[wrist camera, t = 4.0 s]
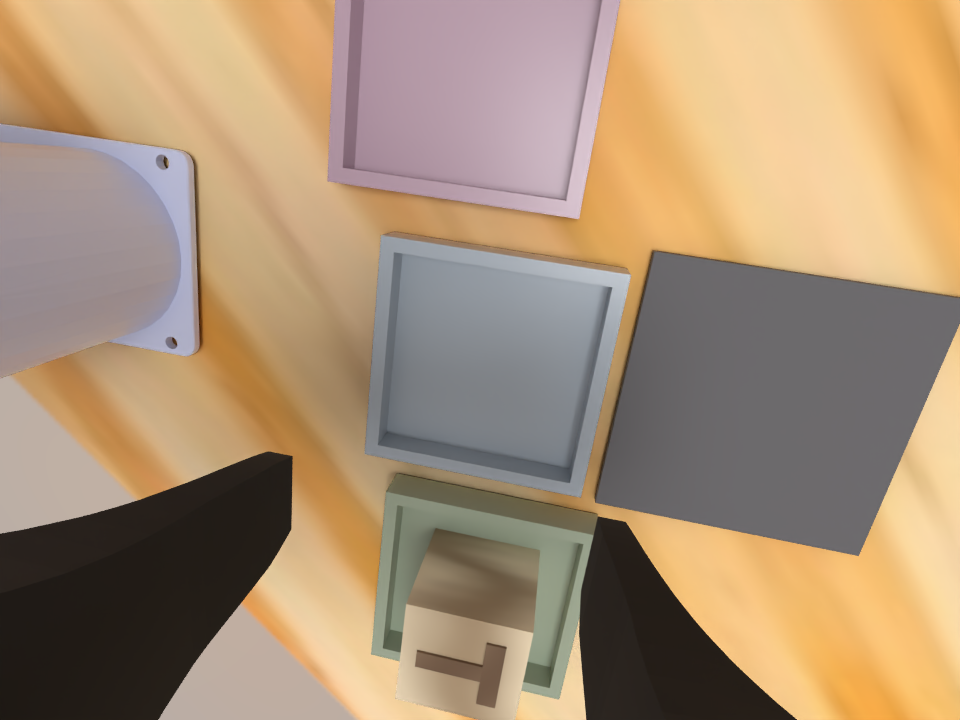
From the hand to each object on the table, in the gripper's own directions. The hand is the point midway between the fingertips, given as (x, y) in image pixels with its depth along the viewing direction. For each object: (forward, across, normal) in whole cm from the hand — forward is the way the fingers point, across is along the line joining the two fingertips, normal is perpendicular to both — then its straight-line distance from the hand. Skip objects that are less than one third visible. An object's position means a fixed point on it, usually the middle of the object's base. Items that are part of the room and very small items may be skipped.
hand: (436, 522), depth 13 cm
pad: (+9, -10, -1) cm, 14 cm away
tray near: (+9, +2, -11) cm, 15 cm away
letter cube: (+9, -1, +9) cm, 13 cm away
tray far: (+9, -1, +9) cm, 13 cm away
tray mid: (+9, 0, -1) cm, 9 cm away
